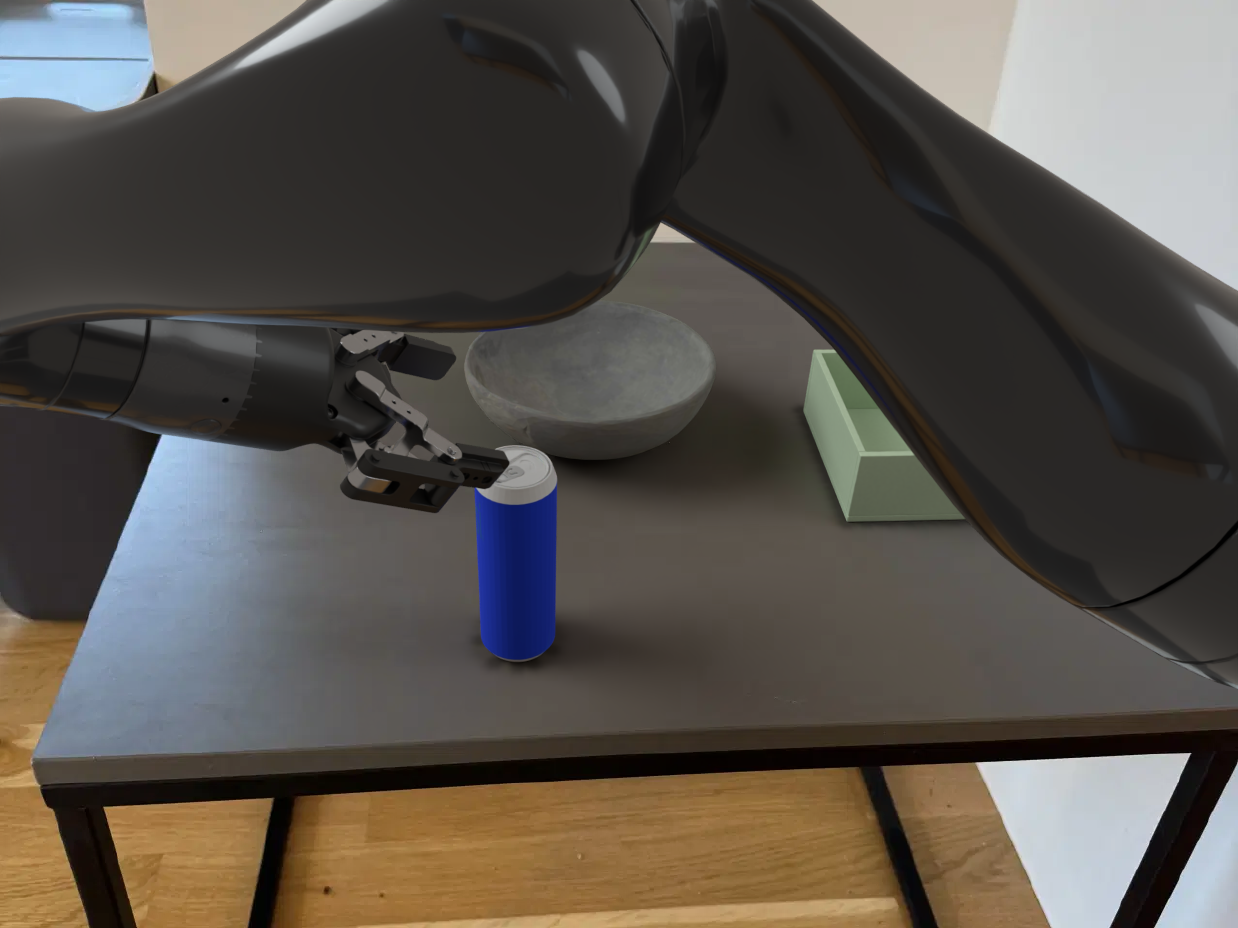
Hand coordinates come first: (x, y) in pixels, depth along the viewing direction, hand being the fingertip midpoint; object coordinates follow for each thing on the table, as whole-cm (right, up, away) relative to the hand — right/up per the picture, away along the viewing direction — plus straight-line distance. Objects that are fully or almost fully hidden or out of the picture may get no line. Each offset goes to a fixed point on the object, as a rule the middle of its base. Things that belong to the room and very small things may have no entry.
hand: (472, 415), depth 64 cm
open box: (+34, -3, +32) cm, 47 cm away
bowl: (+6, 0, +34) cm, 35 cm away
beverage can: (+2, -15, +13) cm, 20 cm away
